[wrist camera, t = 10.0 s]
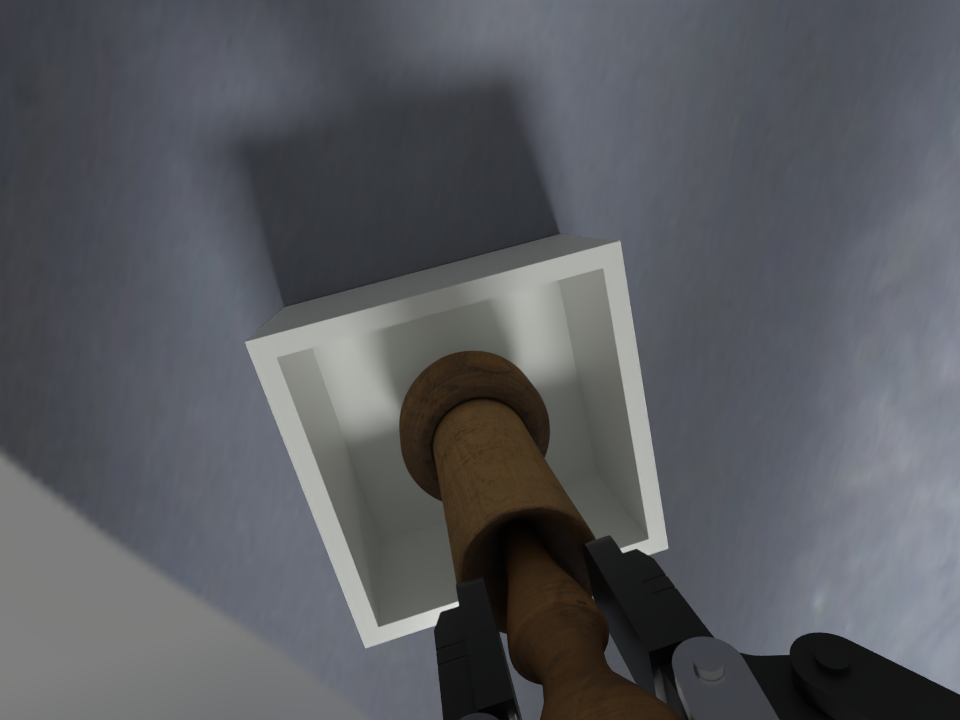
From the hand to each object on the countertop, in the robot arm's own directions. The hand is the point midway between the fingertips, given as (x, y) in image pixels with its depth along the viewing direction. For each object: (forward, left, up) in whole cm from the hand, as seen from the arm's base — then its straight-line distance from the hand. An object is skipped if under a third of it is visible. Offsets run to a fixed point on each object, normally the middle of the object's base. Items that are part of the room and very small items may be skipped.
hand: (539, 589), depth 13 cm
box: (0, 0, -15) cm, 15 cm away
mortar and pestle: (0, 0, -12) cm, 12 cm away
